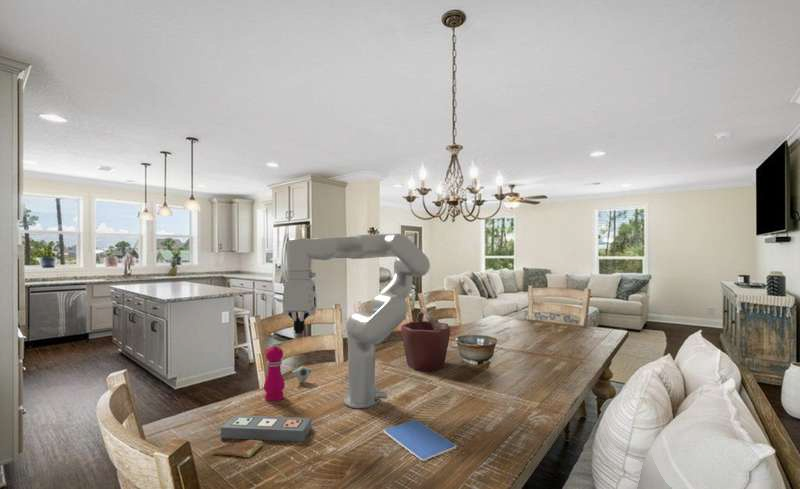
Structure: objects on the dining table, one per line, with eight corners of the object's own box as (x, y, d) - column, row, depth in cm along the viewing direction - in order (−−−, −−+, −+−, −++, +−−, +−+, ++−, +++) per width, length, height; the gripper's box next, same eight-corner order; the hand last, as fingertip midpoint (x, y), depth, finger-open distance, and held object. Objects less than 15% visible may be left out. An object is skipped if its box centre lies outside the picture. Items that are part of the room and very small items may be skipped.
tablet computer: (458, 450, 103) (458, 445, 103) (422, 465, 96) (422, 459, 96) (415, 422, 119) (415, 418, 119) (381, 434, 112) (381, 429, 112)
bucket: (451, 374, 162) (452, 316, 163) (400, 374, 163) (401, 316, 163) (445, 358, 187) (445, 308, 187) (401, 357, 187) (401, 307, 188)
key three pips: (302, 426, 112) (302, 419, 112) (296, 434, 108) (296, 426, 108) (287, 426, 112) (287, 418, 112) (281, 433, 108) (281, 425, 108)
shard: (211, 455, 99) (211, 449, 99) (229, 441, 107) (229, 435, 107) (248, 460, 97) (248, 453, 97) (264, 445, 105) (264, 438, 105)
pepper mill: (278, 403, 132) (278, 346, 132) (259, 401, 133) (260, 344, 134) (288, 395, 139) (288, 341, 139) (270, 393, 140) (271, 340, 141)
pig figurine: (311, 379, 155) (311, 363, 155) (313, 383, 152) (313, 366, 152) (291, 382, 152) (291, 366, 152) (293, 386, 148) (293, 369, 148)
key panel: (311, 428, 114) (311, 418, 114) (302, 441, 106) (302, 430, 106) (235, 424, 116) (235, 415, 116) (220, 437, 108) (220, 427, 108)
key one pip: (277, 425, 113) (277, 418, 113) (271, 433, 108) (271, 425, 108) (263, 425, 113) (263, 417, 113) (256, 432, 109) (256, 424, 109)
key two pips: (253, 424, 113) (253, 417, 113) (246, 432, 109) (246, 424, 109) (239, 424, 114) (239, 417, 114) (231, 431, 109) (231, 423, 109)
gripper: (325, 275, 125) (325, 330, 125) (281, 275, 126) (281, 329, 126) (318, 277, 117) (318, 336, 117) (272, 276, 119) (271, 335, 118)
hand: (299, 332), depth 121 cm, fingers closed
